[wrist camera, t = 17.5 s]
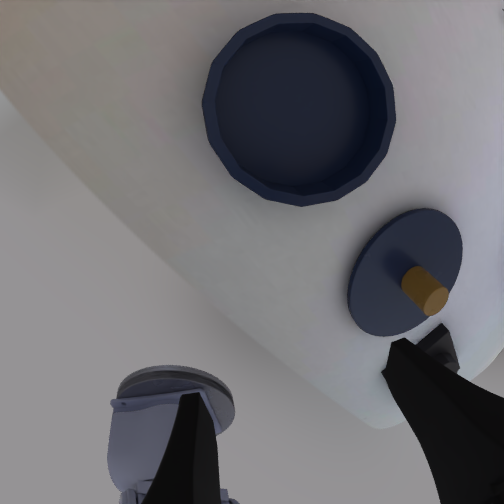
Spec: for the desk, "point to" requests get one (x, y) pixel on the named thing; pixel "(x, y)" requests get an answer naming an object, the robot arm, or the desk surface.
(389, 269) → the tin lid
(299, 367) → the desk surface
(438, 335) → the control block
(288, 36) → the tin
